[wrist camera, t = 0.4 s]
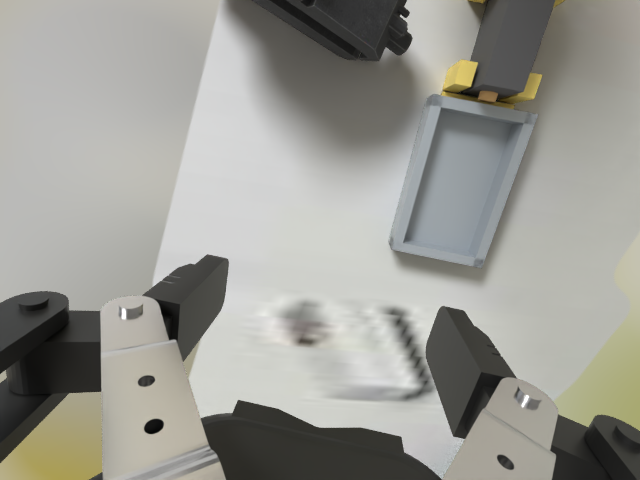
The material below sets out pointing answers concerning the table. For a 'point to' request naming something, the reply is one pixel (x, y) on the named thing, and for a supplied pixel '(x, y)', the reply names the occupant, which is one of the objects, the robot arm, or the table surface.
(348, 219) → the table surface
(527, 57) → the grey slab
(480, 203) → the tray
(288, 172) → the table surface
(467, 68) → the blocks
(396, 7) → the tool
